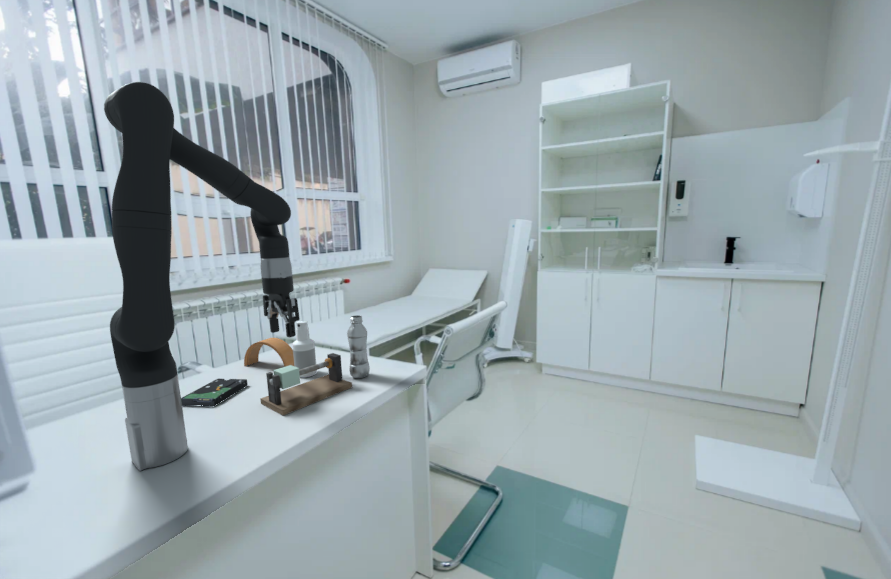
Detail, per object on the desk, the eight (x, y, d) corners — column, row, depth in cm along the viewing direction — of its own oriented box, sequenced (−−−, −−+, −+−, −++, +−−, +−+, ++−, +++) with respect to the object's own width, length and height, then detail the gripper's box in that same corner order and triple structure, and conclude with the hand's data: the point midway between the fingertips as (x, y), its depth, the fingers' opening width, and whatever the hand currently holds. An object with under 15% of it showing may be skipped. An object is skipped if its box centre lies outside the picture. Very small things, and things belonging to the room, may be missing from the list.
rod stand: (283, 415, 98) (279, 380, 97) (260, 403, 106) (257, 370, 104) (352, 387, 115) (350, 357, 114) (328, 378, 123) (326, 350, 121)
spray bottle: (290, 377, 125) (285, 323, 122) (304, 369, 132) (299, 319, 129) (308, 378, 123) (303, 324, 120) (321, 371, 130) (316, 319, 127)
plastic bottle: (372, 372, 127) (369, 314, 124) (366, 380, 120) (362, 319, 117) (353, 372, 127) (350, 314, 124) (346, 380, 121) (342, 319, 118)
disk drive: (218, 386, 120) (180, 407, 106) (217, 378, 120) (179, 397, 106) (248, 387, 119) (214, 408, 105) (247, 378, 119) (213, 398, 104)
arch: (286, 372, 130) (283, 344, 128) (244, 366, 137) (241, 339, 136) (299, 367, 135) (296, 339, 133) (257, 361, 142) (254, 335, 141)
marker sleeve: (283, 389, 102) (281, 373, 101) (274, 385, 105) (273, 370, 104) (300, 383, 106) (298, 368, 105) (291, 379, 108) (290, 365, 108)
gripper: (250, 275, 102) (256, 333, 105) (276, 278, 93) (283, 342, 96) (277, 272, 108) (282, 327, 110) (304, 274, 99) (310, 335, 101)
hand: (283, 334), depth 103 cm, fingers open, 8 cm apart
